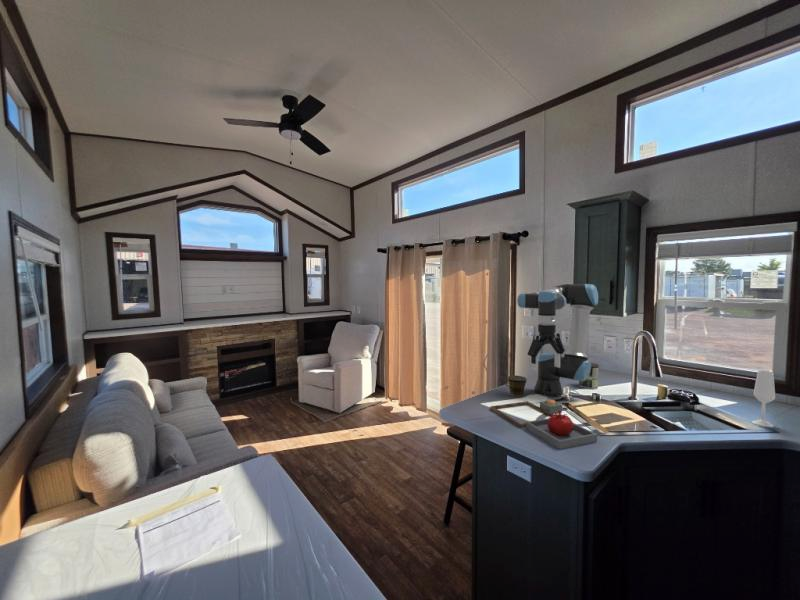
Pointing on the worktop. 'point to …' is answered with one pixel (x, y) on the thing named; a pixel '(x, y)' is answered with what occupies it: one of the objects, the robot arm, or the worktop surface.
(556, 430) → the pomegranate
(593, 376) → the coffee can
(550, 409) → the button housing
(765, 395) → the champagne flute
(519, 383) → the ceramic cup
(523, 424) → the wooden flat square frame
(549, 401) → the button
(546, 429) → the tray
